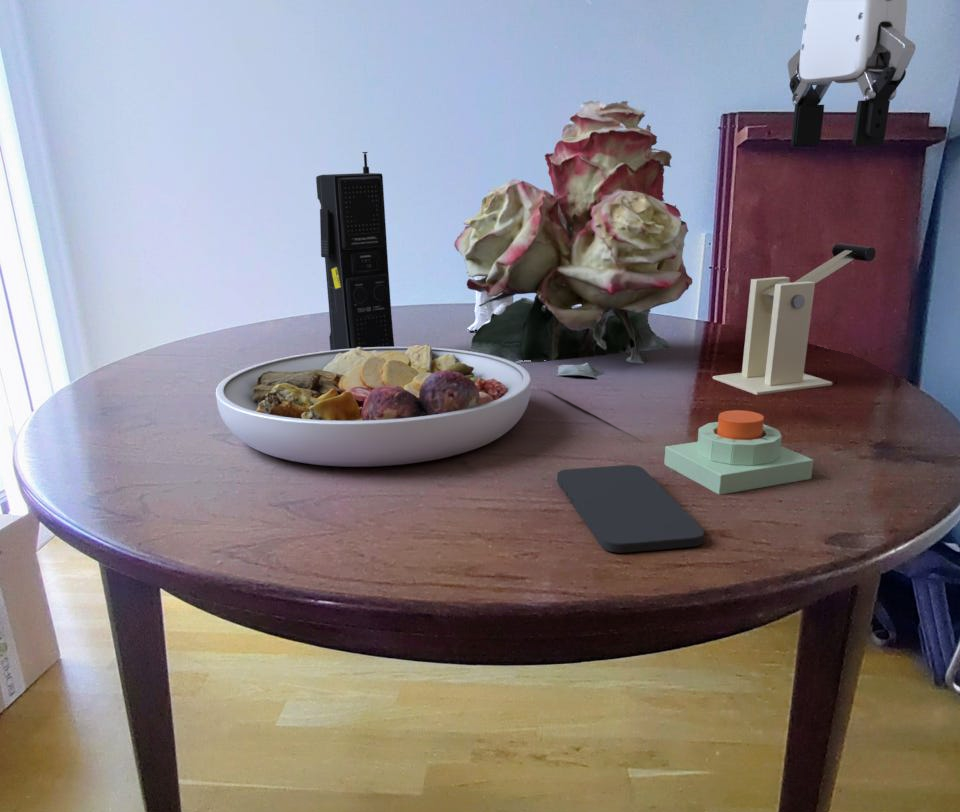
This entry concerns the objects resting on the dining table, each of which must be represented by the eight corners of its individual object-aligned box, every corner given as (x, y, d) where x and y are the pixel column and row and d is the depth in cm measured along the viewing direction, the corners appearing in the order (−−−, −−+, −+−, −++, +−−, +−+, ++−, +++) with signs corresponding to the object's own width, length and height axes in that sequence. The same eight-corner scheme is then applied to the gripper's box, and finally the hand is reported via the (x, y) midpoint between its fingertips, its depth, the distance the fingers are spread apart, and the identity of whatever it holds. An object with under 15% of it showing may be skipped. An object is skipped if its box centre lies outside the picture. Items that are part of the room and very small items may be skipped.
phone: (606, 545, 60) (553, 470, 74) (605, 556, 61) (552, 479, 74) (711, 536, 62) (640, 463, 75) (710, 547, 62) (639, 473, 75)
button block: (750, 451, 81) (754, 413, 79) (811, 479, 74) (816, 438, 73) (663, 464, 78) (666, 425, 76) (719, 495, 71) (722, 453, 70)
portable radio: (346, 369, 113) (330, 153, 103) (322, 362, 117) (304, 153, 107) (398, 360, 117) (388, 151, 107) (373, 353, 122) (360, 152, 112)
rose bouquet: (433, 364, 115) (423, 103, 103) (588, 332, 132) (595, 106, 121) (583, 402, 97) (592, 92, 85) (739, 359, 115) (764, 97, 103)
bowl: (171, 425, 91) (159, 348, 88) (412, 376, 109) (409, 310, 106) (326, 507, 70) (318, 409, 67) (594, 430, 88) (597, 349, 84)
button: (743, 428, 77) (745, 408, 76) (771, 439, 74) (773, 419, 73) (708, 433, 76) (709, 413, 75) (734, 445, 73) (736, 424, 72)
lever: (844, 256, 101) (840, 236, 100) (877, 261, 97) (873, 240, 95) (758, 310, 99) (752, 291, 98) (788, 318, 95) (783, 297, 94)
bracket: (783, 377, 106) (795, 273, 101) (831, 392, 99) (847, 282, 94) (711, 386, 102) (720, 279, 98) (755, 403, 96) (768, 289, 91)
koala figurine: (460, 334, 132) (458, 249, 127) (463, 326, 138) (461, 244, 134) (517, 334, 132) (518, 248, 127) (518, 325, 138) (518, 243, 133)
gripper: (963, -70, 78) (928, 145, 85) (834, -35, 93) (813, 146, 100) (891, -74, 76) (861, 147, 83) (771, -37, 91) (753, 147, 98)
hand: (834, 146), depth 91 cm, fingers open, 9 cm apart
